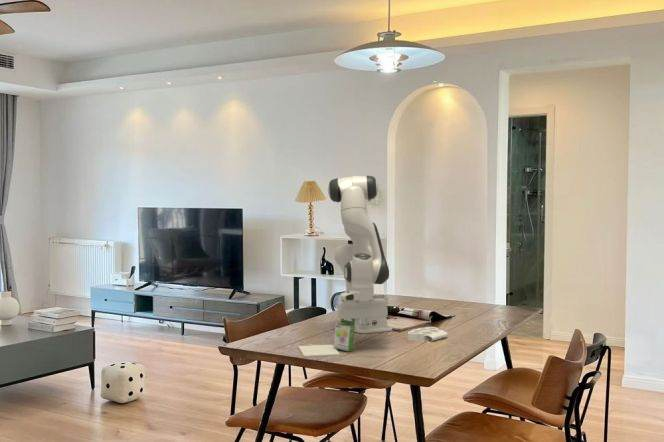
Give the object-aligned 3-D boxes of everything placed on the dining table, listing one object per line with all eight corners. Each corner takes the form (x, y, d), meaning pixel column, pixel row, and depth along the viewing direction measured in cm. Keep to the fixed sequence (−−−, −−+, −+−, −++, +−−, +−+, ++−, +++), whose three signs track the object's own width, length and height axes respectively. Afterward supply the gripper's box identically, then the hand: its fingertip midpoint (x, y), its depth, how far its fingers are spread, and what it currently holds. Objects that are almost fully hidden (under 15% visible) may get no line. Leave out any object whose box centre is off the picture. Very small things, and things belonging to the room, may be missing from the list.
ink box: (333, 348, 261) (336, 315, 260) (338, 347, 264) (341, 314, 264) (347, 351, 257) (350, 317, 256) (353, 350, 260) (356, 317, 260)
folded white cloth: (427, 344, 272) (400, 339, 282) (452, 337, 285) (424, 332, 295) (427, 336, 272) (400, 331, 282) (452, 330, 285) (424, 325, 295)
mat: (332, 346, 268) (332, 344, 268) (340, 355, 252) (340, 353, 252) (298, 347, 265) (298, 346, 265) (304, 357, 249) (304, 355, 249)
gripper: (385, 292, 266) (385, 326, 266) (336, 294, 262) (336, 328, 263) (389, 295, 260) (389, 329, 260) (339, 296, 256) (339, 331, 256)
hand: (362, 329), depth 261 cm, fingers closed
